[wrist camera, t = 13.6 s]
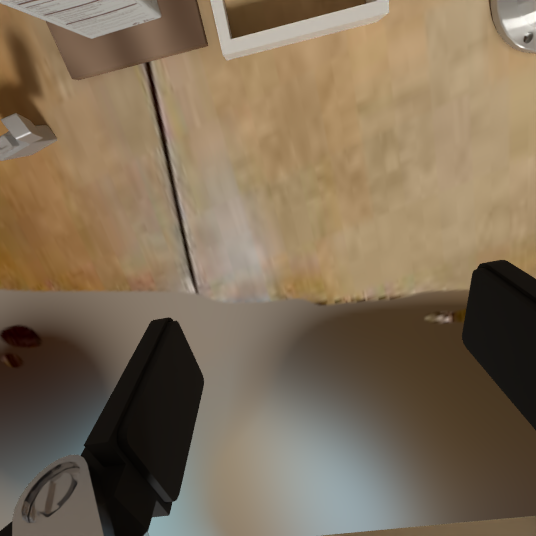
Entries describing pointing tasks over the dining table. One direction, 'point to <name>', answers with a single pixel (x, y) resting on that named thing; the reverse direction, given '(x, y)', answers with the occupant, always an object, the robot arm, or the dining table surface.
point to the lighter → (23, 137)
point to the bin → (294, 28)
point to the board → (133, 41)
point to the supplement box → (90, 13)
